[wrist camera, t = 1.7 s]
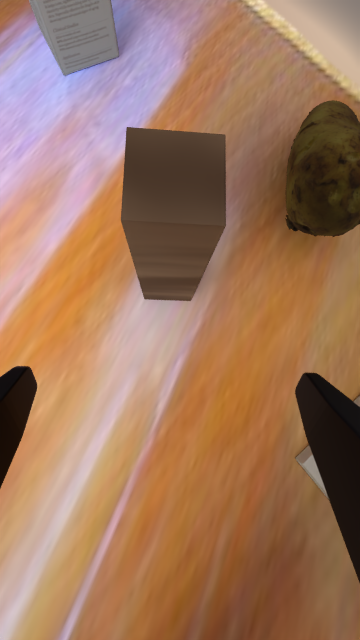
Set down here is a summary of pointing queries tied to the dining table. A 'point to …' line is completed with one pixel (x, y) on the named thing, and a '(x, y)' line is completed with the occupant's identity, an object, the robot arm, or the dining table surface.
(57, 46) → the product box
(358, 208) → the potato
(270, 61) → the dining table surface
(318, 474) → the peg plate
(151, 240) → the walnut block
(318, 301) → the dining table surface
